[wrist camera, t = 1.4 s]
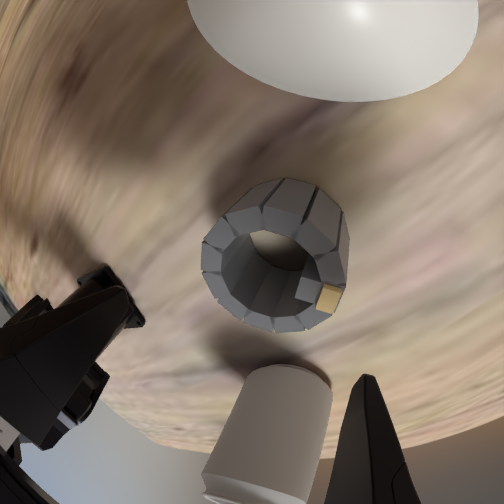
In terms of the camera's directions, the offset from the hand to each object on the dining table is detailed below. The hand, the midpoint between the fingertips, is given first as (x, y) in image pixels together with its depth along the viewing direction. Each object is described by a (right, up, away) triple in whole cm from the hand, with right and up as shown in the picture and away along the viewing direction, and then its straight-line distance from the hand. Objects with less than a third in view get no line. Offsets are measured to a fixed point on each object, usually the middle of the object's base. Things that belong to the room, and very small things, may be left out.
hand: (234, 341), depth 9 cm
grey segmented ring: (+3, +4, +6) cm, 8 cm away
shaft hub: (+4, +16, -2) cm, 16 cm away
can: (+4, -8, +13) cm, 16 cm away
